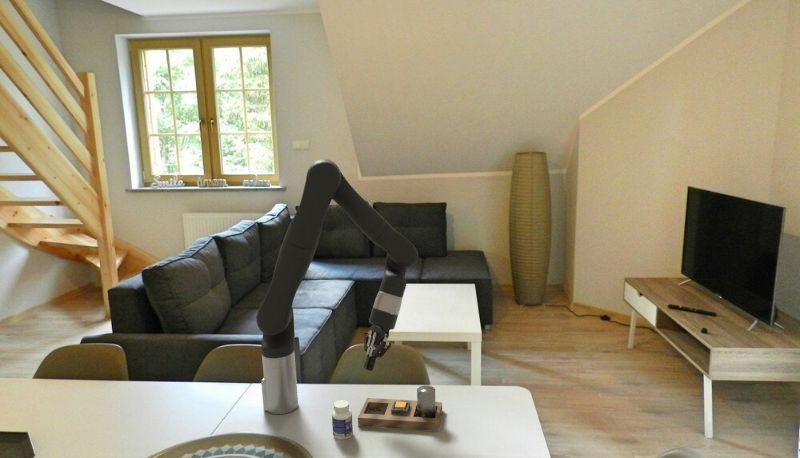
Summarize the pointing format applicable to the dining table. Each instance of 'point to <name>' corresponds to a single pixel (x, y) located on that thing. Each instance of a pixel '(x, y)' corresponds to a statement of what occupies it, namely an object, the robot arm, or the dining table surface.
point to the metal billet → (426, 401)
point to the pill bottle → (342, 420)
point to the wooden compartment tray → (397, 415)
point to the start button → (400, 405)
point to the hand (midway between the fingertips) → (367, 369)
